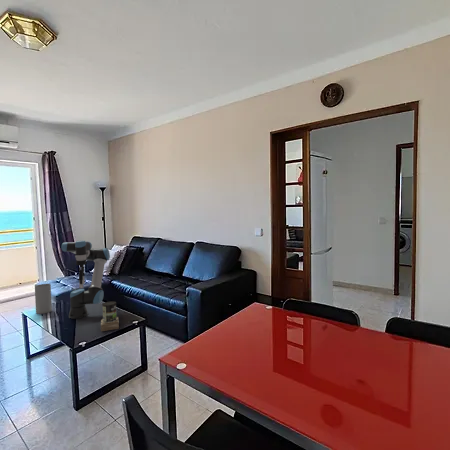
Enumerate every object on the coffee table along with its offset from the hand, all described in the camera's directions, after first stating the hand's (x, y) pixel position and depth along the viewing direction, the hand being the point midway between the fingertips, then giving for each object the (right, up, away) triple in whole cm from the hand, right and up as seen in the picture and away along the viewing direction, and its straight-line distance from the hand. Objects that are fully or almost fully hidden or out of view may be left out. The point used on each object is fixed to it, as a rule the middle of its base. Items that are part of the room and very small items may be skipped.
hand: (82, 285), depth 234 cm
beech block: (+23, -33, -2) cm, 40 cm away
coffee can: (+23, -28, -2) cm, 36 cm away
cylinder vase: (-53, -32, +35) cm, 71 cm away
